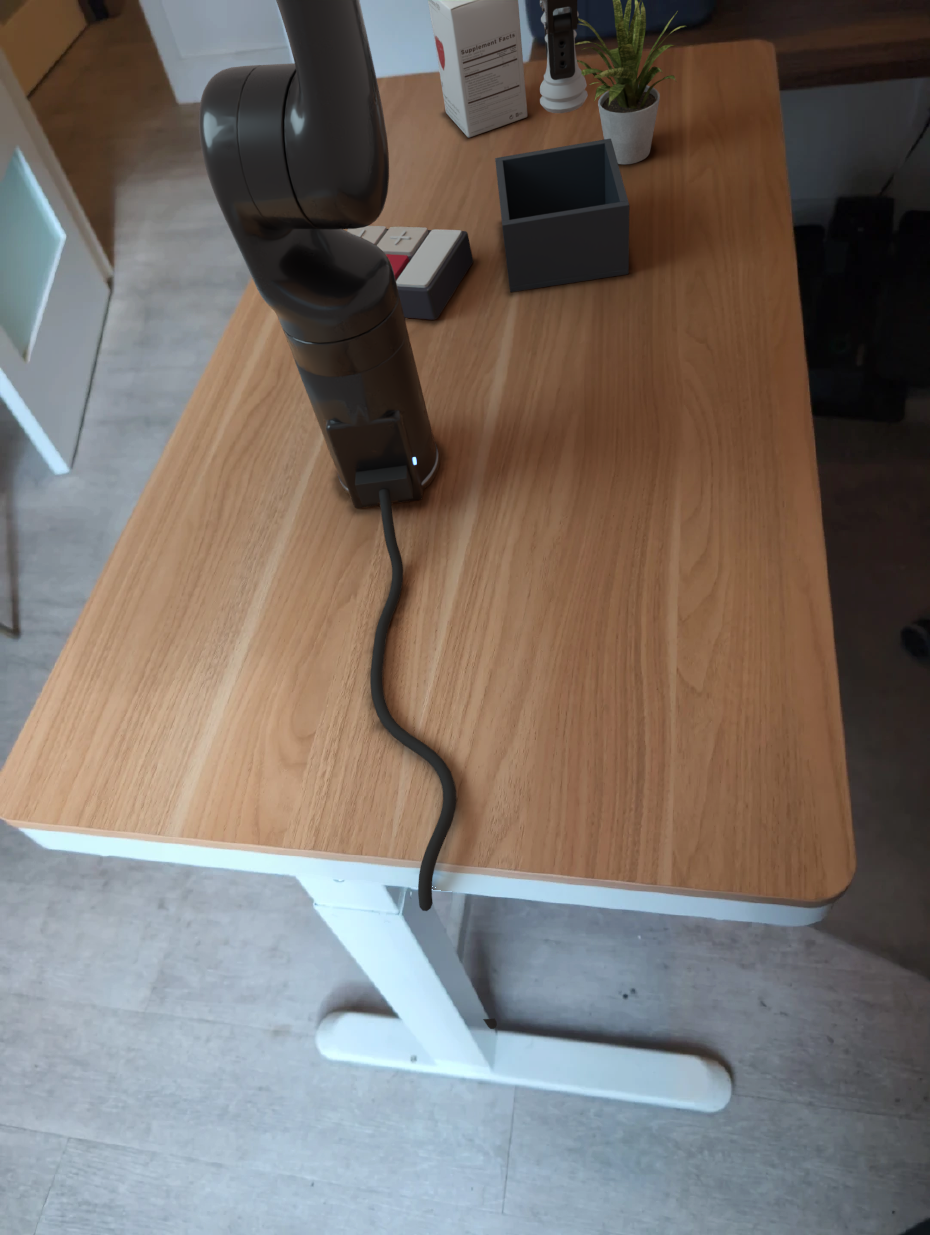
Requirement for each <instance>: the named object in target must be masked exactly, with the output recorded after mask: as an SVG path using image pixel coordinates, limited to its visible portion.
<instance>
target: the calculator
mask: <svg viewBox="0 0 930 1235" xmlns="http://www.w3.org/2000/svg"><path fill="white" fill-rule="evenodd" d="M346 231H347V232H349V233H352V234H354V235H356V236H359V237H361V238H363V239H366V240H368V241H370V242H372V243H373V244H375V245H376V246H378V247H379V248H380V249H381V250H382V251H383V252H384V253H385V254H386V256H387V257H388V259H389V261H390V263H391V265H392V268H393V271H394V275H395V280H396V284H397V288H398V292H399V296H400V301H401V305H402V309H403V313H404V317H405V319H418V320H429V321H430V320H431V321H432V320H437V319H438V318H439V317H440V315H441V314H442V312H443V311H444V309H445V307H446V306H447V304H448V302H449V301H450V299H451V298H452V296H453V295H454V293H455V291H456V290H457V288H458V287H459V285H460V283H462V280H463V279H464V277H465V275H466V274H467V273H468V271H469V268H470V267H471V266H472V264H473V263H474V257H473V252H472V247H471V244H470V243H471V242H470V238H469V233H468V231H467V230H461V229H440V228H439V229H435V228H434V229H428V228H427V227H424V226H423V227H421V226H391V227H389V228H387V227H386V226H384V225H369V226H366V227H362V228H356V229H346Z"/></svg>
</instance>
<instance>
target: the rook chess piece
mask: <svg viewBox="0 0 930 1235" xmlns="http://www.w3.org/2000/svg"><path fill="white" fill-rule="evenodd" d="M562 13H568V7H565V8H559V9H556V10H554V12H553V15H557V14H562ZM579 15H580V14H579V10H577V16H578V17H579ZM540 22H541V23H542V25H544V22H546V21H545V11H543V14H542V15H541V17H540ZM577 35H578V34H577V31H576V29H575V30H574V52H575V74H574V75H573V76H572V77H570V78H565V79H559V80H553V79H552V78H551V76H550V69H549V53H548V55H546V68H545V72H544V74H543V80H542V82H541V83H540V85H539V86H540V87H539V93H540V95H541V97H540V98H539V103H540V105H541V107H542V108H543V109H544V110H545V111H546V112H547V113H548V112H549V113H552V114H567V113H571V112H573V111H576V110H578V109H579V108H581V107H583V105H584V104H585V102H586V100H587V98H588V96H589V95H588V91H587V90H586V88H587V86H588V85H587V81H586V78H585V77H586V76H583V75H582V74H581V73H582V72H581V71H582V69H581V68H580V67H579V62H577V60H578V59H577V52H576V45H575V44H576V40H575V39H576V37H577ZM545 41H546V42H547V46H548V36H547V35H546V36H545V35H544V42H545Z"/></svg>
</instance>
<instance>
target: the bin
mask: <svg viewBox="0 0 930 1235" xmlns="http://www.w3.org/2000/svg"><path fill="white" fill-rule="evenodd" d="M494 162H495V170H496V180H497V189H498V190H497V191H498V199H499V209H500V217H501V228H502V236H503V242H504V243H503V245H504V252H505V260H506V270H507V278H508V285H509V287H508V288H509V292H510V293H514V292H521V291H527V290H528V291H529V290H533V289H534V290H535V289H540V288H547V287H555V286H558V285H567V284H574V283H579V282H586V281H592V280H593V281H594V280H598V279H599V280H601V279H605V278H612V277H619V276H625V275H629V273H630V270H629V269H630V267H629V265H630V203H629V198H628V195H627V191H626V188H625V183H624V180H623V177H622V173H621V170H620V166H619V164H618V162H617V158H616V155H615V151H614V148H613V144H612V141H611V138H610V139H604V138H603V139H598V140H593V141H586V142H581V143H575V144H568V145H562V146H557V147H552V148H551V147H550V148H546V149H540V150H539V149H538V150H534V151H529V152H522V153H517V154H516V153H515V154H511V155H505V156H499V157H498V156H497V157H495V158H494Z"/></svg>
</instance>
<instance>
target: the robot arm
mask: <svg viewBox="0 0 930 1235" xmlns="http://www.w3.org/2000/svg"><path fill="white" fill-rule="evenodd" d="M275 1H276V5H277V7H278V11H279V14H280V16H281V19H282V23H283V25H284V29H285V32H286V37H287V39H288V43H289V46H290V50H291V54H292V58H293V63H292V62H291V63H274V64H273V63H272V64H271V63H270V64H252V65H251V64H250V65H241V66H232V67H227V68H225V69H221V70H220V71H218V72H216V73H215V74H214V75H213V76H212V77H211V78H210V79H209V80H208V81H207V83H206V85H205V87H204V89H203V92H202V94H201V97H200V102H199V108H198V137H199V144H200V150H201V154H202V160H203V165H204V167H205V171H206V174H207V178H208V180H209V183H210V186H211V189H212V192H213V194H214V197H215V199H216V202H217V204H218V207H219V208H220V211H221V213H222V216H223V218H224V220H225V222H226V224H227V227H228V228H229V231H230V233H231V235H232V237H233V239H234V242H235V243H236V245H237V248H238V250H239V252H240V254H241V256H242V258H243V260H244V263H245V265H246V268H247V270H248V271H249V274H250V276H251V279H252V281H253V283H254V285H255V287H256V290H257V291H258V293H259V295H260V297H261V298H262V299H263V301H264V302H265V303H266V304H267V306H268V307H269V308H271V309H272V310H273V311H274V312H275V314H276V317H277V319H278V322H279V325H280V327H281V329H282V331H283V334H284V336H285V339H286V342H287V344H288V347H289V350H290V352H291V355H292V358H293V360H294V363H295V366H296V369H297V371H298V373H299V376H300V379H301V382H302V384H303V387H304V389H305V392H306V394H307V398H308V399H309V402H310V406H311V407H312V411H313V413H314V415H315V418H316V421H317V423H318V426H319V428H320V431H321V434H322V436H323V439H324V441H325V444H326V447H327V449H328V452H329V455H330V457H331V459H332V462H333V465H334V467H335V469H336V475H337V478H338V481H339V483H340V485H341V488H342V489H343V491H344V492H345V494H347V495H348V497H350V500H351V501H352V504H353V507H354V508H355V509H361V508H362V509H363V508H368V507H370V508H371V507H377V506H380V512H381V513H380V514H381V522H382V529H383V535H384V541H385V545H386V549H387V553H388V556H389V559H390V564H391V584H390V589H389V591H388V592H389V593H388V596H387V599H386V602H385V604H384V607H383V609H382V612H381V613H380V616H379V618H378V622H377V625H376V629H375V632H374V633H375V634H374V639H373V647H372V648H373V649H372V655H371V664H370V677H369V678H370V679H369V681H370V682H369V683H370V693H371V694H370V695H371V699H372V703H373V706H374V710H375V713H376V716H377V717H378V718H379V721H380V723H381V724H382V726H383V728H385V730H386V731H387V732H388V733H389V734H390V735H391V736H392V737H393V738H394V739H396V740H397V741H398V742H399V743H400V744H402V745H403V746H405V747H406V748H408V749H409V750H410V751H412V752H414V753H415V754H417V755H418V756H419V757H421V758H422V759H423V760H425V761H426V762H427V764H429V765H430V766H431V767H432V769H433V770H434V771H435V773H436V774H437V776H438V779H439V781H440V785H441V790H442V805H441V810H440V814H439V817H438V820H437V822H436V825H435V827H434V829H433V832H432V834H431V836H430V839H429V840H428V844H427V846H426V849H425V851H424V854H423V857H422V859H421V864H420V866H419V873H418V881H417V882H418V883H417V894H418V896H417V897H418V906H419V908H420V910H421V911H422V912H428V911H429V910H431V908H432V906H433V878H434V872H435V868H436V864H437V860H438V858H439V855H440V852H441V850H442V847H443V845H444V843H445V840H446V838H447V835H448V834H449V831H450V829H451V825H452V823H453V820H454V817H455V812H456V809H457V808H456V807H457V788H456V783H455V779H454V777H453V774H452V771H451V770H450V768H449V766H448V765H447V763H446V762H445V760H444V759H443V758H442V757H441V755H440V754H438V753H437V751H435V750H434V749H433V748H431V746H429V745H427V744H426V743H424V742H423V741H421V740H420V739H418V738H417V737H416V736H414V735H412V734H411V733H410V732H408V731H407V730H405V729H404V728H403V727H402V726H401V725H400V724H398V722H397V721H396V720H395V718H394V717H393V715H392V714H391V712H390V710H389V708H388V707H389V706H388V705H387V704H388V703H387V701H386V697H385V693H384V685H383V683H384V682H383V674H384V673H383V672H384V661H385V653H386V651H385V650H386V644H387V637H388V631H389V627H390V624H391V621H392V618H393V615H394V612H395V611H396V608H397V605H398V603H399V599H400V597H401V593H402V590H403V589H402V588H403V581H404V565H403V559H402V555H401V552H400V548H399V545H398V541H397V536H396V529H395V523H394V516H393V509H392V508H393V507H392V505H393V504H401V503H407V502H415V501H421V500H422V499H423V497H424V496H423V495H424V494H423V493H424V490H425V489H426V488H427V487H428V486H430V484H431V483H432V482H433V481H434V479H435V477H436V475H437V473H438V471H439V468H440V463H441V462H440V461H441V460H440V454H439V449H438V446H437V443H436V441H435V437H434V434H433V433H434V432H433V429H432V425H431V421H430V417H429V412H428V409H427V405H426V401H425V396H424V392H423V389H422V384H421V380H420V376H419V372H418V368H417V364H416V360H415V356H414V351H413V347H412V343H411V339H410V334H409V331H408V330H409V329H408V326H407V321H406V317H404V313H403V309H402V305H401V301H400V296H399V292H398V288H397V284H396V280H395V275H394V271H393V268H392V265H391V263H390V261H389V259H388V257H387V256H386V254H385V253H384V252H383V251H382V250H381V249H380V248H379V247H378V246H376V245H375V244H373V243H372V242H370V241H368V240H366V239H363V238H361V237H359V236H356V235H354V234H352V233H349V232H347V230H348V229H356V228H362V227H366V226H372V224H374V223H375V222H376V221H377V220H378V219H379V217H380V216H381V214H382V212H383V210H384V208H385V205H386V202H387V197H388V193H389V184H390V183H389V182H390V154H389V152H390V151H389V144H388V134H387V128H386V121H385V115H384V108H383V103H382V98H381V92H380V89H379V84H378V79H377V73H376V69H375V64H374V60H373V55H372V50H371V46H370V42H369V37H368V33H367V28H366V23H365V19H364V13H363V10H362V6H361V0H275ZM539 7H540V8H541V12H545V21H546V22H544V24H543V28H544V37H545V36H546V35H547V36H548V46H547V42H546V41H545V40H544V42H545V55H546V56H547V55H548V53H549V69H550V76H551V78H552V79H553V80H559V79H565V78H570V77H572V76H573V75H574V74H575V52H576V51H575V52H574V30H575V31H576V30H578V25H580V23H579V19H580V18H579V15H578V16H577V11H578V0H539ZM565 7H568V13H562V14H557V15H553V12H554V10H556V9H559V8H565ZM578 18H579V19H578ZM482 1020H483V1022H484V1023H485V1025H486V1027H488V1029H490V1030H494V1029H496V1028H497V1025H498V1022H497V1020H496V1018H494V1017H493V1018H484V1019H482Z"/></svg>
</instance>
